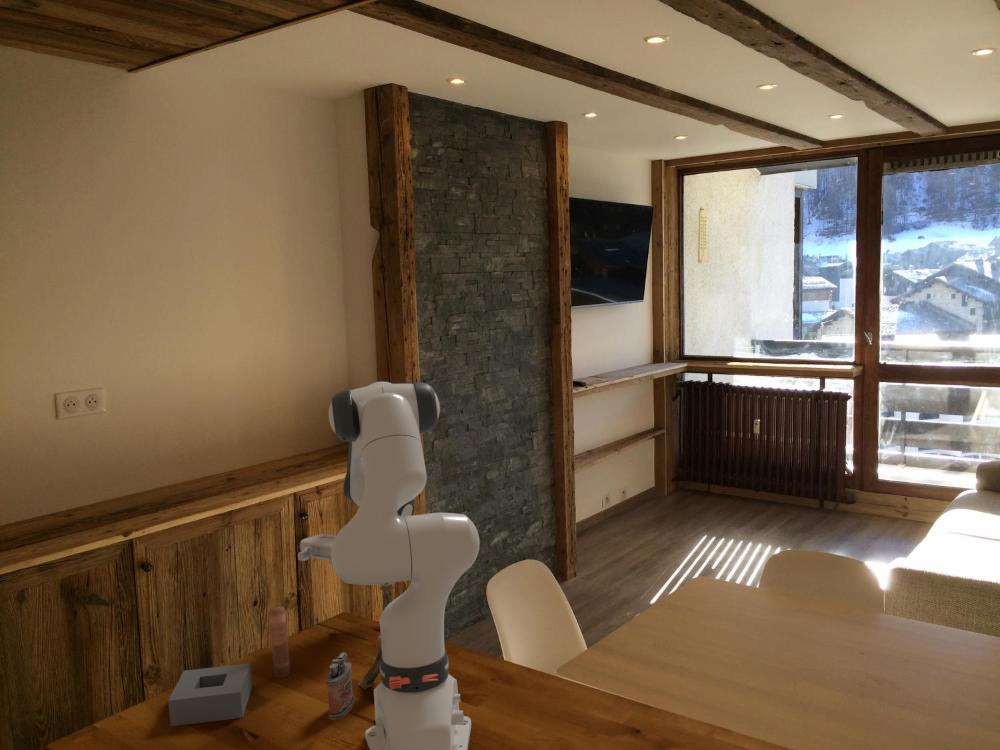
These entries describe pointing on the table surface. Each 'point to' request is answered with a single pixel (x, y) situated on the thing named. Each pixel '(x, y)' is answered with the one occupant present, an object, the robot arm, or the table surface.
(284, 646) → the peg
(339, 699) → the lighter
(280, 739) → the table surface
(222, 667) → the holder
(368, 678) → the eiffel tower
